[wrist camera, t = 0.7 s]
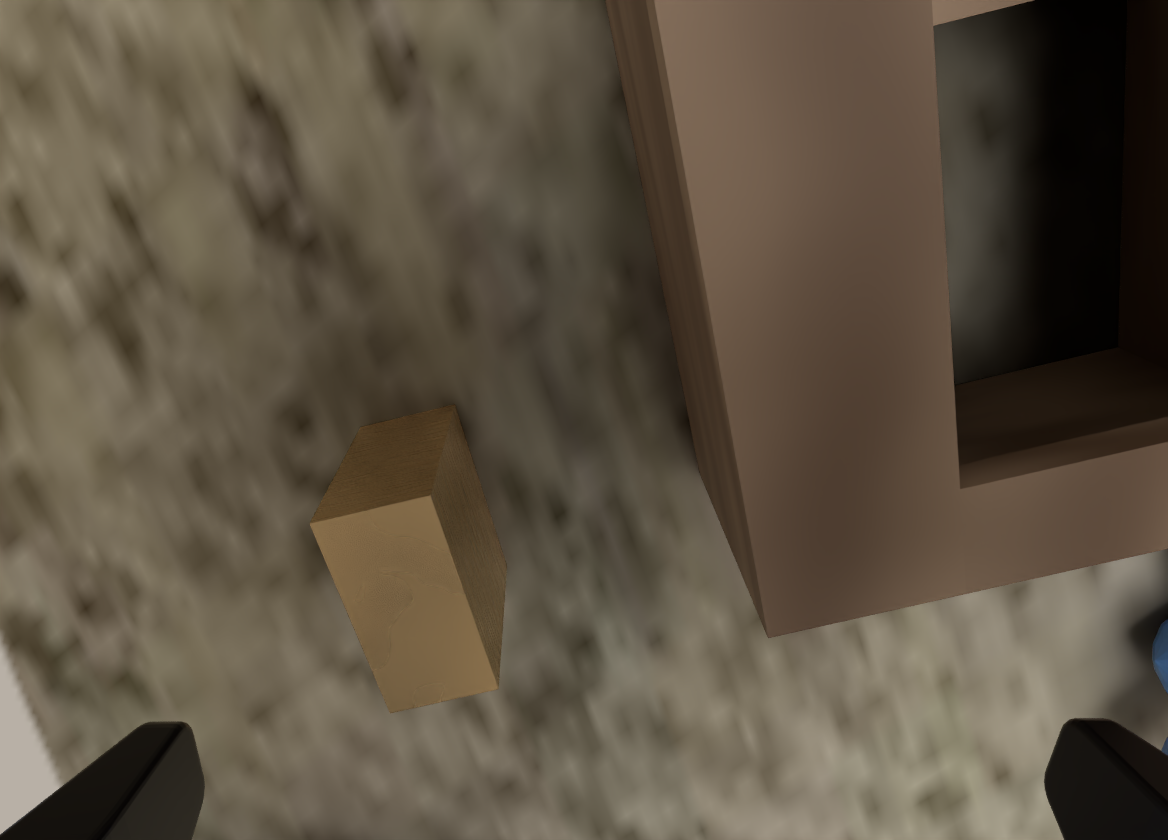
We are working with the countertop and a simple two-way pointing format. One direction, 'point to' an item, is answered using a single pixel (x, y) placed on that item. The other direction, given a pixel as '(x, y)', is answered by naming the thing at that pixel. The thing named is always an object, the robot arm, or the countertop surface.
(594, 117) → the countertop surface
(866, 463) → the box
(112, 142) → the countertop surface
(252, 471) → the countertop surface
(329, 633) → the countertop surface
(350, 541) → the tan flat block
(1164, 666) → the grapes
